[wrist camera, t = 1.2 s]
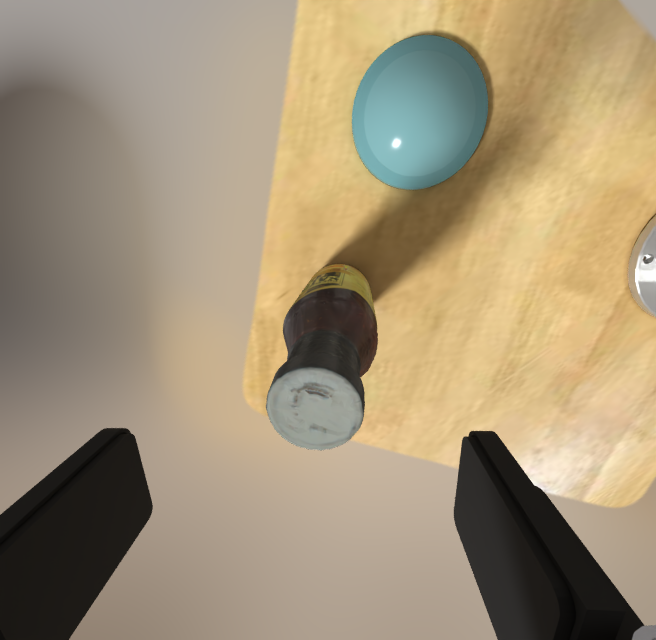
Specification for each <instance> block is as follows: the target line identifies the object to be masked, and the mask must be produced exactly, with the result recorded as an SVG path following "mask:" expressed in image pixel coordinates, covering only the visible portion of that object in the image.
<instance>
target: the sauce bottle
mask: <svg viewBox="0 0 656 640" xmlns="http://www.w3.org/2000/svg"><path fill="white" fill-rule="evenodd" d="M283 334H284V339H285V342H286V346H287V350H288V358H287V362H285V363H284V364H283V365H282V366H281V367H280V368H279V370H278V371H277V372H276V374H275V376H274V379H273V382H272V384H271V387H270V389H269V392H268V395H267V404H266V409H267V413H268V416H269V419H270V421H271V423H272V425H273V427H274V429H275V430H276V431H277V432H278V433H279V434H280V435H281V436H282V437H283V438H284V439H285V440H287V441H288V442H290V443H292V444H294V445H296V446H299V447H302V448H306V449H311V450H313V449H314V450H325V449H332V448H335V447H338V446H340V445H342V444H344V443H346V442H347V441H348V440H349V439H351V438H352V436H353V435H354V434H355V433H356V432H357V431H358V430H359V428H360V426H361V424H362V421H363V417H364V406H365V401H364V387H363V384H362V381H361V378H360V377H362V376H363V375H364V374H365V373H366V372H367V371H368V369H369V368H370V366H371V364H372V361H373V360H374V357H375V355H376V350H377V344H378V338H377V336H378V333H377V321H376V316H375V310H374V305H373V299H372V294H371V289H370V286H369V283H368V281H367V280H366V278H365V277H364V276H363V275H362V273H361V272H360V271H359V270H358V269H356V268H354V267H353V266H349V265H344V264H333V265H329V266H326V267H324V268H322V269H321V270H319V271H318V272H317V273H316V274H315V275H314V276H313V277H312V279H311V280H310V281H309V283H308V284H307V286H306V287H305V288H304V290H303V291H302V293H301V294H300V295H299V297H298V298H297V300H296V301H295V303H294V304H293V305H292V307H291V308H290V310H289V311H288V313H287V315H286V317H285V320H284V324H283Z"/></svg>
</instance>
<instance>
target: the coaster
mask: <svg viewBox="0 0 656 640" xmlns="http://www.w3.org/2000/svg"><path fill="white" fill-rule="evenodd" d="M487 114H488V94H487V88H486V83H485V80H484V77H483V74H482V72H481V70H480V68H479V66H478V64H477V63H476V61H475V60H474V58H473V57H472V56H471V55H470V54H469V53H468V52H467V50H465V49H464V48H463V47H462V46H460V45H459V44H457V43H455V42H454V41H452V40H450V39H447V38H444V37H440V36H434V35H421V36H415V37H411V38H408V39H404V40H402V41H400V42H398V43H396V44H394V45H393V46H391V47H390V48H388V49H387V50H385V51H384V52H383V53H382V54H381V55H380V56H379V57H378V58H377V59H376V60H375V61H374V62H373V63H372V65H371V66H370V67H369V69H368V70H367V72H366V73H365V75H364V77H363V79H362V81H361V83H360V85H359V88H358V90H357V93H356V97H355V100H354V105H353V113H352V132H353V138H354V143H355V146H356V150H357V152H358V154H359V157H360V159H361V160H362V162H363V164H364V165H365V167H366V168H367V169H368V170H369V172H370V173H371V174H372V175H373V176H375V177H376V178H377V179H378V180H380V181H381V182H383V183H385V184H387V185H389V186H391V187H394V188H397V189H403V190H419V189H424V188H428V187H431V186H434V185H437V184H439V183H441V182H443V181H444V180H446V179H448V178H449V177H451V176H452V175H454V174H455V173H456V172H457V171H458V170H460V169H461V168H462V167H463V166H464V165H465V163H466V162H467V161H468V160H469V159H470V157H471V156H472V154H473V153H474V151H475V150H476V148H477V146H478V144H479V142H480V140H481V137H482V135H483V132H484V128H485V125H486V120H487Z"/></svg>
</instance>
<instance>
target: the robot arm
mask: <svg viewBox="0 0 656 640" xmlns="http://www.w3.org/2000/svg"><path fill="white" fill-rule="evenodd" d="M628 282H629V288H630V291H631V293H632V296H633V298H634V299H635V301H636V302H637V304H638V305H639V307H641V308H642V309H643V310H644V311H645V312H646V313H647V314H649V315H651V316H653V317H655V318H656V215H655V216H654V217H653V218H652V219H651V221H650V222H649V223H648V224H647V226H646V227H645V228H644V230H643V231H642V233H641V234H640V236H639V238H638V240H637V242H636V243H635V245H634V247H633V250H632V253H631V257H630V260H629V266H628ZM152 507H153V505H152V501H151V497H150V493H149V489H148V485H147V481H146V478H145V474H144V470H143V466H142V462H141V458H140V454H139V450H138V446H137V443H136V439H135V436H134V435H133V434H131V433H130V431H129V430H128V429H126V428H106V429H103V430H101V431H100V432H99V433H97V434H96V435H95V436H94V437H93V438H92V439H90V440H89V441H88V442H87V443H85V444H84V445H83V446H82V447H81V448H79V449H78V450H77V451H76V452H75V453H74V454H72V455H71V456H70V457H69V458H68V459H66V460H65V461H64V462H63V463H62V464H60V465H59V466H58V467H57V468H56V469H54V470H53V471H52V472H51V473H50V474H48V475H47V476H46V477H45V478H44V479H43V480H41V481H40V482H39V483H38V484H37V485H35V486H34V487H33V488H32V489H31V490H29V491H28V492H27V493H26V494H25V495H23V496H22V497H21V498H20V499H19V500H17V501H16V502H15V503H14V504H13V505H12V506H10V507H9V508H8V509H7V510H6V511H4V512H3V513H2V514H1V515H0V640H69V638H70V637H71V635H72V634H73V632H74V631H75V629H76V628H77V626H78V625H79V623H80V622H81V620H82V619H83V617H84V616H85V614H86V613H87V611H88V610H89V608H90V607H91V605H92V604H93V602H94V601H95V599H96V598H97V596H98V595H99V593H100V592H101V590H102V589H103V587H104V586H105V584H106V583H107V581H108V580H109V578H110V577H111V575H112V574H113V572H114V571H115V569H116V568H117V566H118V565H119V563H120V562H121V560H122V559H123V557H124V556H125V554H126V553H127V551H128V550H129V548H130V547H131V545H132V544H133V542H134V541H135V539H136V538H137V536H138V535H139V533H140V532H141V530H142V529H143V527H144V526H145V524H146V523H147V521H148V520H149V518H150V516H151V513H152ZM454 520H455V524H456V527H457V531H458V533H459V536H460V539H461V541H462V544H463V547H464V549H465V552H466V555H467V558H468V560H469V563H470V566H471V568H472V571H473V574H474V577H475V579H476V582H477V585H478V587H479V590H480V593H481V595H482V598H483V600H484V603H485V606H486V609H487V611H488V614H489V617H490V619H491V622H492V625H493V628H494V630H495V633H496V636H497V639H498V640H656V625H651V626H644V624H643V623H642V622H641V620H640V619H639V618H638V616H637V615H636V614H635V612H634V611H633V610H632V608H631V607H630V606H629V604H628V603H627V602H626V600H625V599H624V598H623V596H622V595H621V594H620V592H619V591H618V590H617V588H616V587H615V586H614V584H613V583H612V582H611V580H610V579H609V578H608V576H607V575H606V574H605V572H604V571H603V570H602V568H601V567H600V566H599V564H598V563H597V562H596V560H595V559H594V558H593V556H592V555H591V554H590V552H589V551H588V550H587V548H586V547H585V546H584V545H583V543H582V542H581V540H580V539H579V538H578V536H577V535H576V534H575V532H574V531H573V530H572V529H571V527H570V526H569V525H568V523H567V522H566V520H565V519H564V518H563V516H562V515H561V514H560V513H559V511H558V510H557V508H556V507H555V506H554V504H553V503H552V502H551V500H550V499H549V498H548V496H547V495H546V494H545V493H544V492H543V491H542V490H541V489H540V488H538V487H537V486H534V484H533V483H532V482H531V480H530V479H529V478H528V476H527V475H526V474H525V472H524V471H523V469H522V468H521V467H520V465H519V464H518V463H517V461H516V460H515V458H514V457H513V456H512V454H511V453H510V452H509V450H508V449H507V448H506V446H505V445H504V443H503V442H502V441H501V439H500V438H499V437H498V435H497V434H496V433H495V432H493V431H471V432H470V433H469V436H468V437H463V440H462V447H461V456H460V464H459V472H458V482H457V489H456V497H455V506H454Z"/></svg>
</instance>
